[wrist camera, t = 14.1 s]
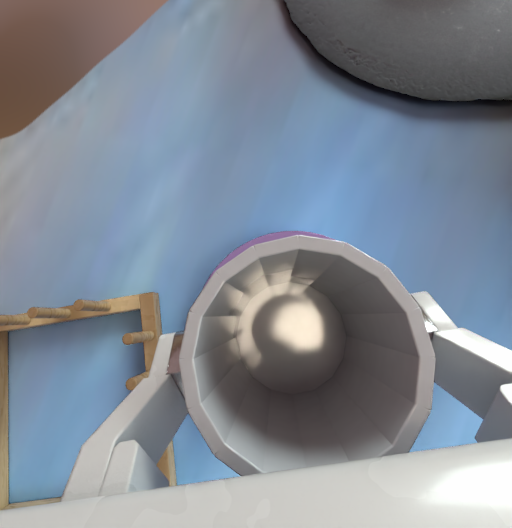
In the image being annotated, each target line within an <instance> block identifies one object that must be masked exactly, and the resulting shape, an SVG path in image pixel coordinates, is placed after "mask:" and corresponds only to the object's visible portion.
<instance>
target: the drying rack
mask: <svg viewBox="0 0 512 528" xmlns="http://www.w3.org/2000/svg"><path fill="white" fill-rule="evenodd" d="M137 310H141V321H142V332H133V333H126V334H125V335H124V336H123V338H122V340H123V343H124V344H126V345H130V344H136V343H141V342H143V344H144V356H145V368H146V372H144V373H141V374H139V375H137V376H134V377H132V378H129V379H128V380H127V381H126V388H127V389H128V390H133V389H134V388H135V387H136V386H137V385H138V384H139V383H140V382H141V381H142V380H143V378H148V376H149V372H150V369H151V365H152V361H153V358H154V354H155V350H156V346H157V343H158V339H159V337H160V336H161V335H162V327H161V316H160V306H159V295H158V293H155V292H150V293H144V294H138V295H132V296H126V297H120V298H114V299H108V300H102V301H91V300H80V299H79V300H76V301H75V303H74V305H72V306H66V307H60V308H40V307H32V308H30V309H29V310H28V312H27V313H24V314H18V315H0V510H7V509H14V508H21V507H29V506H36V505H43V504H50V503H57V502H60V500H61V497H57V498H50V499H42V500H35V501H27V502H20V503H12V504H9V460H8V331H15V330H21V329H27V328H33V327H39V326H45V325H51V324H57V323H63V322H70V321H76V320H82V319H88V318H94V317H100V316H106V315H112V314H118V313H124V312H131V311H137ZM156 466H157V467H158V468H159V469H160V470H161V472H162V473H163V474H164V475H165V476H166V478H167V479H168V480H169V486H176V485H177V482H176V472H175V462H174V451H173V441H172V440H171V442H170V443H169V445H168V447H167V448H166V450H165V452H164V453H163V455H162V457H161V458H160V460H159V462H158V463H157V465H156Z"/></svg>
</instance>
